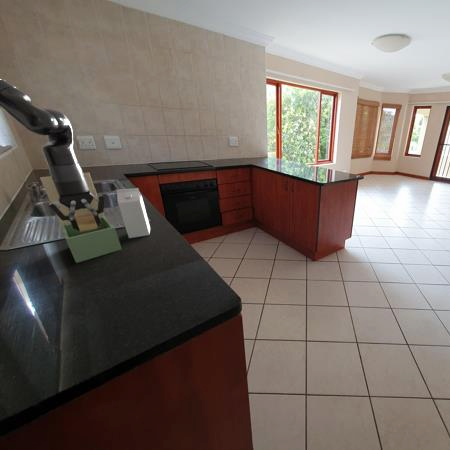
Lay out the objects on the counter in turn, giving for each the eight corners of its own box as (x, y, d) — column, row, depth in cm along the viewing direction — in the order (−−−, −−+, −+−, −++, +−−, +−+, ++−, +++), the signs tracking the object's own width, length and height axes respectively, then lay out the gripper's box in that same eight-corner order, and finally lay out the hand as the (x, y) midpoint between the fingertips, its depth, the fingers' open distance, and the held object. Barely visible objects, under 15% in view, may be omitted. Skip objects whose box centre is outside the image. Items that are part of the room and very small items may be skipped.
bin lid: (89, 172, 86) (87, 171, 89) (39, 177, 77) (39, 176, 81) (104, 215, 92) (101, 213, 95) (60, 224, 83) (59, 221, 86)
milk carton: (131, 232, 99) (117, 187, 92) (150, 228, 102) (139, 186, 95) (128, 238, 94) (114, 192, 86) (149, 235, 97) (137, 190, 89)
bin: (121, 249, 86) (114, 227, 82) (76, 263, 77) (65, 239, 74) (111, 236, 96) (104, 216, 92) (69, 247, 87) (60, 225, 84)
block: (78, 228, 82) (73, 215, 80) (95, 224, 85) (90, 212, 83) (80, 232, 79) (75, 219, 77) (98, 228, 82) (93, 215, 80)
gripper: (95, 173, 82) (110, 219, 89) (36, 180, 72) (58, 230, 79) (99, 176, 77) (115, 224, 84) (37, 184, 68) (61, 237, 74)
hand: (87, 227), depth 82 cm, fingers closed on block, 4 cm apart
